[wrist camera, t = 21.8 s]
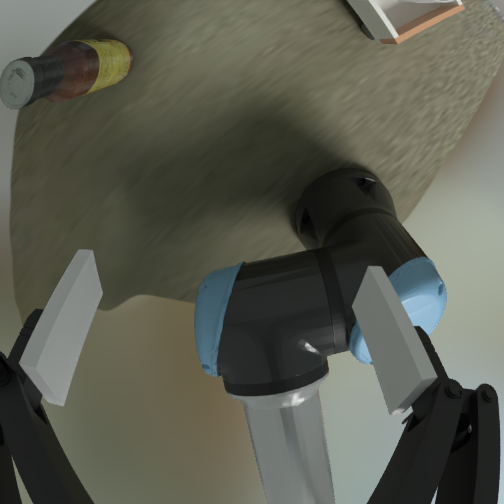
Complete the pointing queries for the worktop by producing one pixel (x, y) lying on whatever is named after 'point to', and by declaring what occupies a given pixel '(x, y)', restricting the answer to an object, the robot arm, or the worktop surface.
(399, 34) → the white open box
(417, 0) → the cup
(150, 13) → the worktop surface
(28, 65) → the sauce bottle
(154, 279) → the worktop surface
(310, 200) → the robot arm
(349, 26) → the worktop surface
